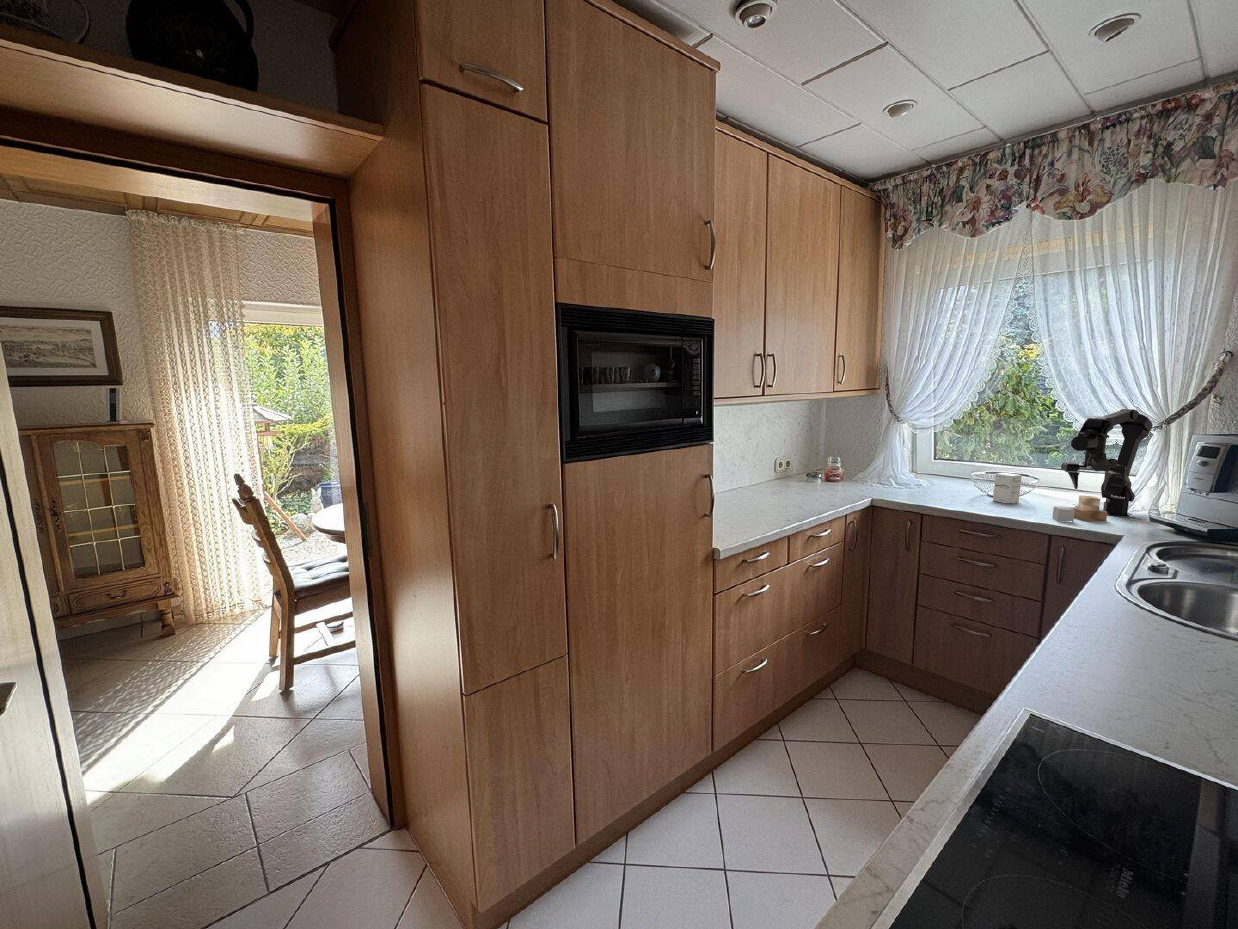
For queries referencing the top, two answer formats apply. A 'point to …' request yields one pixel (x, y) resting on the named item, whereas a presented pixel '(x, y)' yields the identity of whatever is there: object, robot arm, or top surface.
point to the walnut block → (1090, 515)
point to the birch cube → (1089, 503)
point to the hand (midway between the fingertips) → (1090, 489)
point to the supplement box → (1007, 488)
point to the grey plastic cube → (1063, 513)
